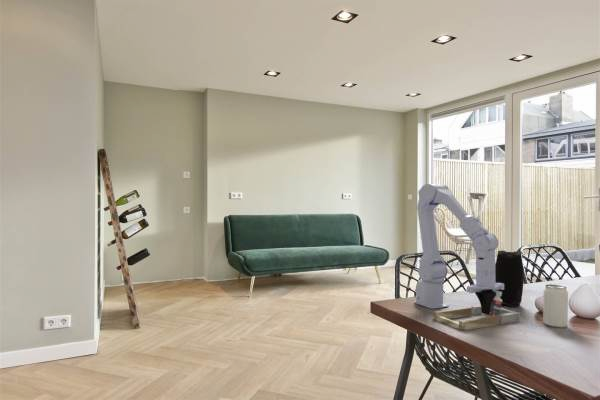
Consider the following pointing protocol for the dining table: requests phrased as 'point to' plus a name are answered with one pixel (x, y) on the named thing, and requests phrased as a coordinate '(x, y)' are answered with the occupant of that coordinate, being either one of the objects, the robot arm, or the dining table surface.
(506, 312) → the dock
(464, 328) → the beige flat u-shaped piece
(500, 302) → the pill bottle
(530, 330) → the dining table surface
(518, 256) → the portable speaker
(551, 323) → the can
